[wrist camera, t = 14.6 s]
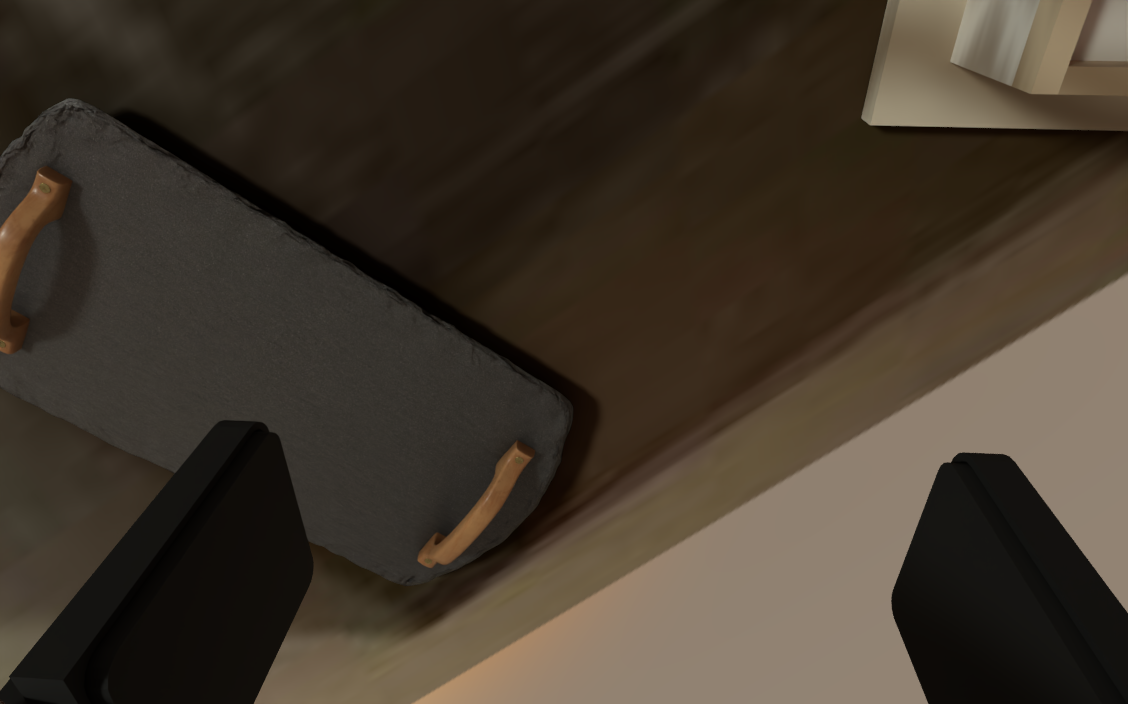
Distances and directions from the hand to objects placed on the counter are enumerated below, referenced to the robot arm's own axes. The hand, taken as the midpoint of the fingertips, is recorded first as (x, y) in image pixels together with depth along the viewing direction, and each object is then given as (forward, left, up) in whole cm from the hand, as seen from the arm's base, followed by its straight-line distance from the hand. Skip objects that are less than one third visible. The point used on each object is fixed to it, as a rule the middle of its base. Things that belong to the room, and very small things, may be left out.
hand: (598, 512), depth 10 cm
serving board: (+19, -21, -31) cm, 42 cm away
